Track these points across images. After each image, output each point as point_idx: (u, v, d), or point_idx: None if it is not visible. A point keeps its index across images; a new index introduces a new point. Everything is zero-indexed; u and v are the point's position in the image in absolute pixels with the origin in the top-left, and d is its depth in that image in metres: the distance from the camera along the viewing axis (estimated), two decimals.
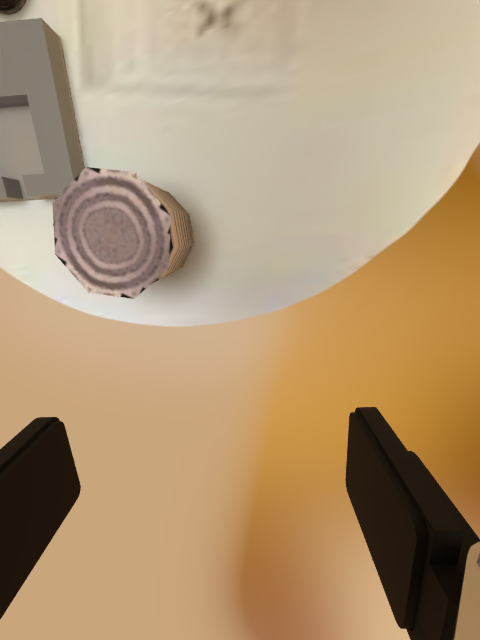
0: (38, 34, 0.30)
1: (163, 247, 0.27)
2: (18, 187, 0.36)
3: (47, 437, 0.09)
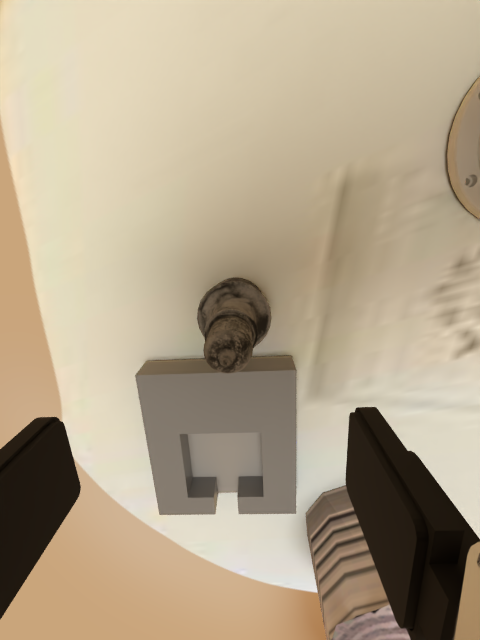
0: (289, 383, 0.26)
1: None
2: (216, 485, 0.32)
3: (47, 437, 0.09)
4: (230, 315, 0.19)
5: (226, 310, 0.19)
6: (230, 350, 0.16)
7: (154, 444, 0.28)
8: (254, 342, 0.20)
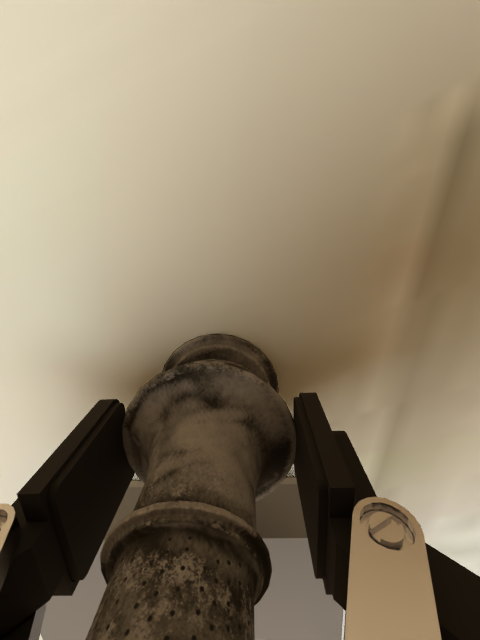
0: None
1: None
2: None
3: (114, 416, 0.09)
4: (177, 530, 0.06)
5: (166, 509, 0.06)
6: None
7: None
8: (260, 594, 0.06)
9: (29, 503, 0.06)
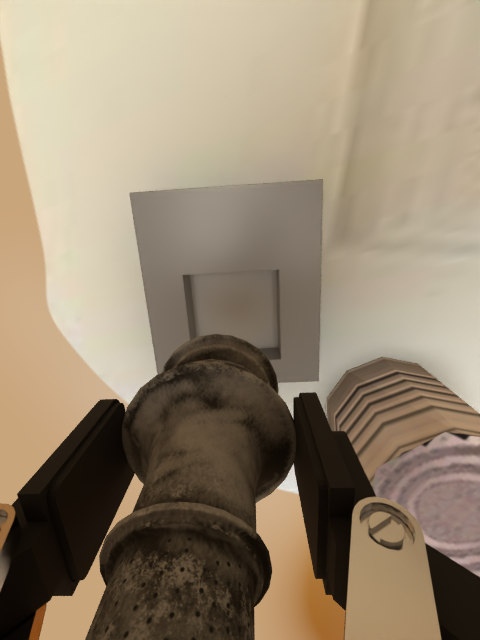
0: (313, 198, 0.21)
1: None
2: None
3: (114, 416, 0.09)
4: (177, 531, 0.06)
5: (165, 510, 0.06)
6: None
7: (152, 290, 0.24)
8: (260, 595, 0.06)
9: (29, 503, 0.06)
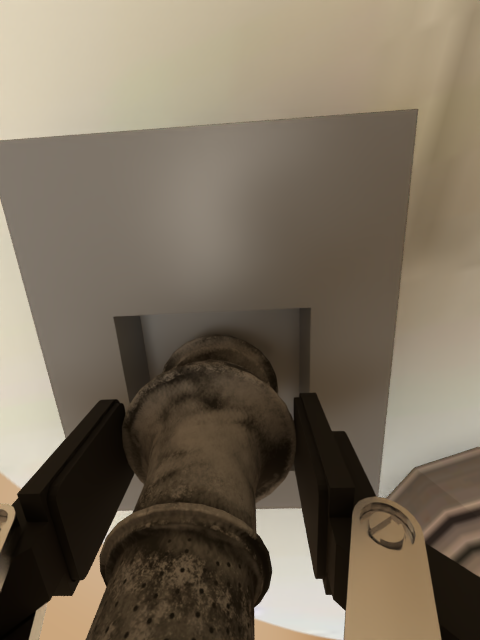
0: (393, 155, 0.10)
1: None
2: None
3: (114, 416, 0.09)
4: (177, 532, 0.06)
5: (165, 511, 0.06)
6: None
7: (56, 345, 0.12)
8: (260, 596, 0.06)
9: (29, 503, 0.06)
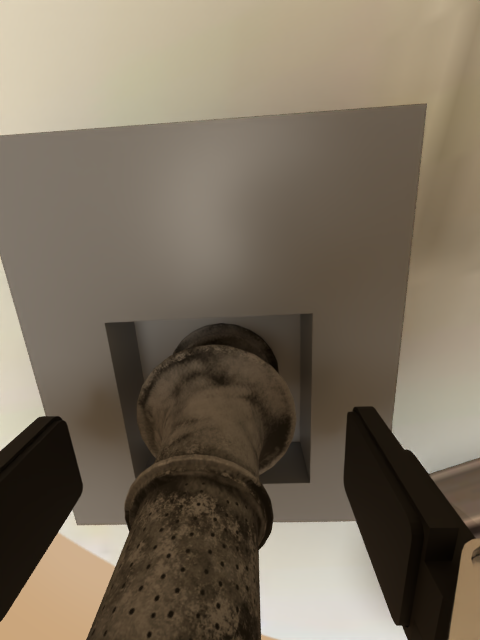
0: (401, 153, 0.09)
1: None
2: None
3: (50, 436, 0.09)
4: (192, 478, 0.07)
5: (182, 461, 0.07)
6: None
7: (44, 352, 0.11)
8: (263, 538, 0.07)
9: None
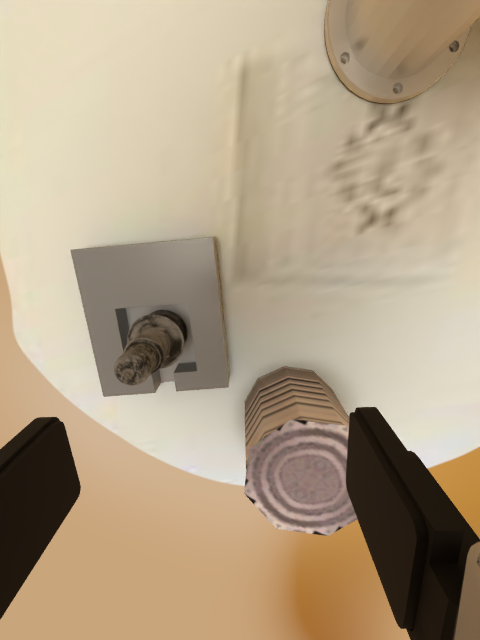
0: (207, 251, 0.29)
1: None
2: (158, 373, 0.35)
3: (47, 437, 0.09)
4: (140, 342, 0.26)
5: (137, 338, 0.26)
6: (129, 369, 0.23)
7: (92, 321, 0.31)
8: (161, 361, 0.27)
9: None
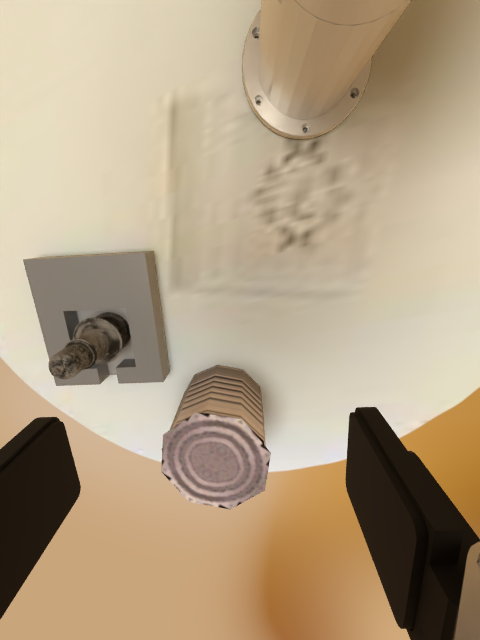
0: (141, 264, 0.33)
1: (261, 474, 0.30)
2: (106, 366, 0.40)
3: (47, 437, 0.09)
4: (76, 342, 0.31)
5: (74, 339, 0.31)
6: (60, 366, 0.28)
7: (44, 320, 0.35)
8: (94, 359, 0.31)
9: None
